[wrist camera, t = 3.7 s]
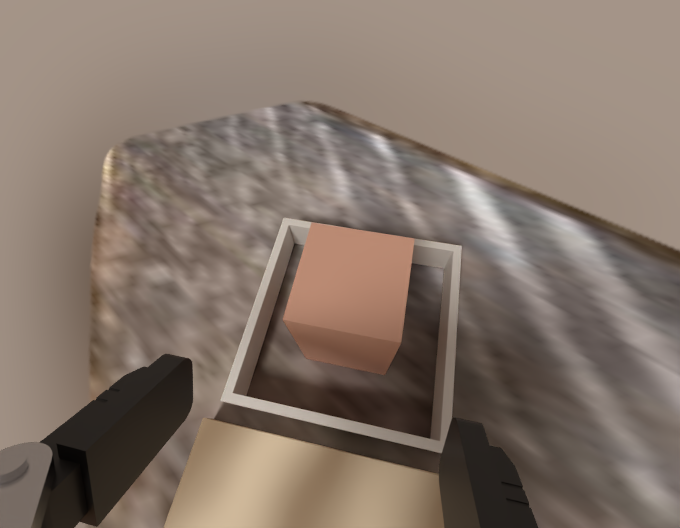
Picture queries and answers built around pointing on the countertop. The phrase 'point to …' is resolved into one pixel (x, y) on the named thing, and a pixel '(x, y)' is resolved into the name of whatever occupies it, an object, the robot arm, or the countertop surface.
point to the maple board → (296, 485)
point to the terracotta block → (350, 297)
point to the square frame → (239, 385)
